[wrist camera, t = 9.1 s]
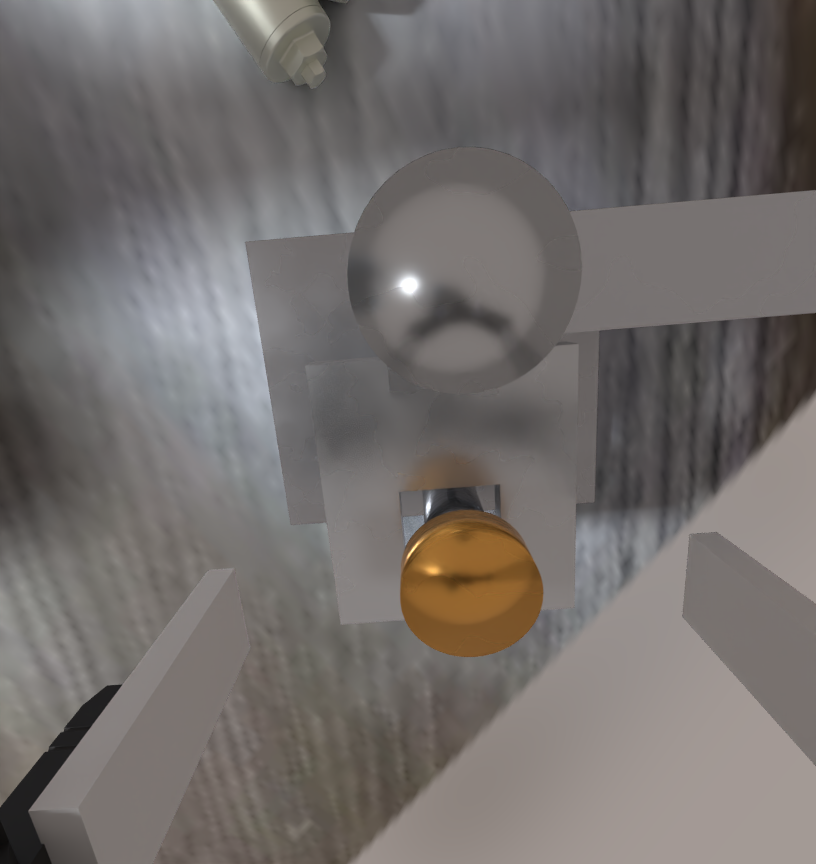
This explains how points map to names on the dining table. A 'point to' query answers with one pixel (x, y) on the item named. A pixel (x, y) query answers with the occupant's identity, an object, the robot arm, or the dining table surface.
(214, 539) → the dining table surface
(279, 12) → the pipe fitting
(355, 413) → the grey lever mechanism
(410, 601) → the gold knobbed rod
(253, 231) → the dining table surface
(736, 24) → the dining table surface
